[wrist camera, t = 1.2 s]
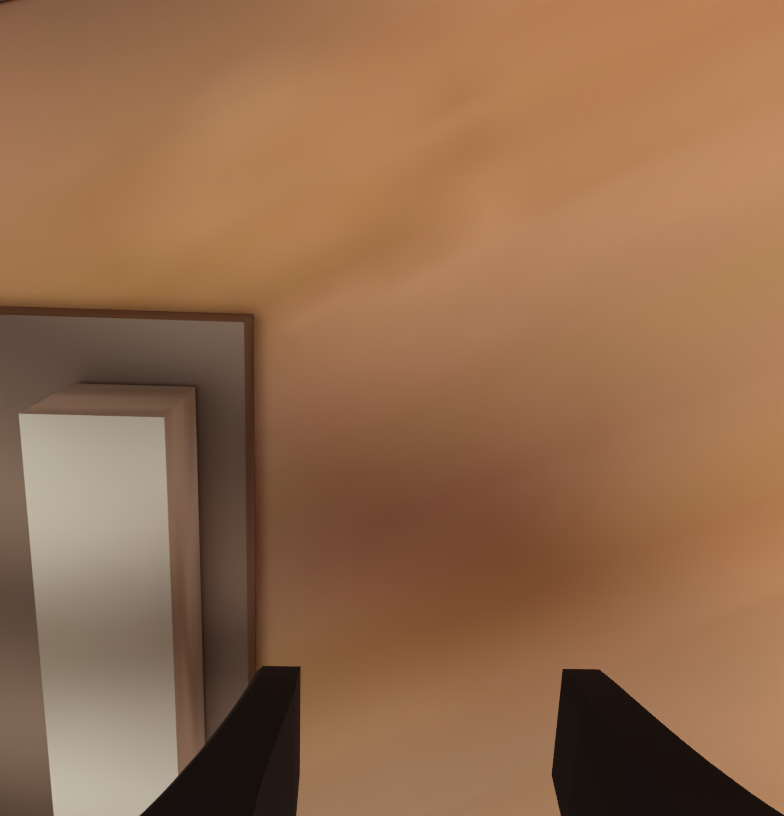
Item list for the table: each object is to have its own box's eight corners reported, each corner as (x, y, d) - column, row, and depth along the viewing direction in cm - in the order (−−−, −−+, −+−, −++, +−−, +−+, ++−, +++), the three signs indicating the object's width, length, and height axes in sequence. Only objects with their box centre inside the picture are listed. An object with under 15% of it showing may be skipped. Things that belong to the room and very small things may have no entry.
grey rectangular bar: (211, 832, 20) (187, 926, 18) (99, 832, 20) (58, 927, 18) (199, 386, 17) (169, 417, 15) (68, 382, 17) (13, 413, 14)
